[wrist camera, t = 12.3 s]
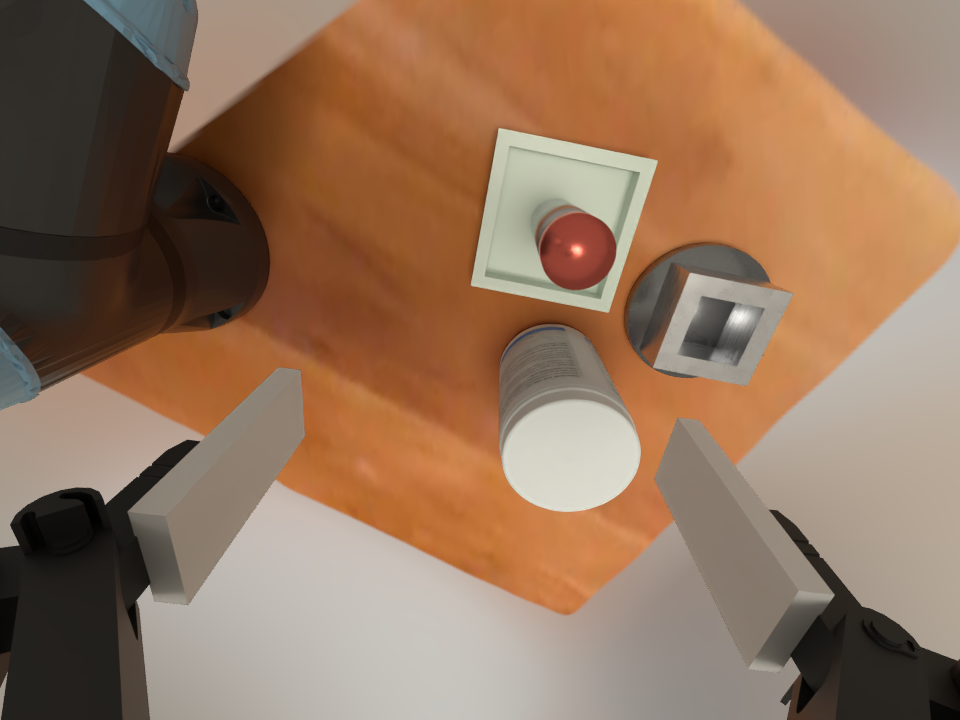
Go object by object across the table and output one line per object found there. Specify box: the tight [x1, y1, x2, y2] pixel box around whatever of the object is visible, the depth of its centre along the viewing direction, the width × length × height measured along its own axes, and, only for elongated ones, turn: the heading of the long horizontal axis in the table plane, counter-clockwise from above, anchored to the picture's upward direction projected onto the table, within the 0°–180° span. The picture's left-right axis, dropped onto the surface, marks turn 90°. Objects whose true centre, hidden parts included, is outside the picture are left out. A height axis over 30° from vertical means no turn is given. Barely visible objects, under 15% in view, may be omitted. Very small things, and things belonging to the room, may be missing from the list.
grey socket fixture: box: [624, 243, 794, 386], centre depth 36 cm, size 12×12×6 cm
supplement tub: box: [499, 324, 641, 512], centre depth 35 cm, size 10×10×15 cm
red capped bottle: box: [531, 199, 616, 290], centre depth 29 cm, size 4×4×14 cm
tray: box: [471, 128, 658, 313], centre depth 35 cm, size 12×12×2 cm
